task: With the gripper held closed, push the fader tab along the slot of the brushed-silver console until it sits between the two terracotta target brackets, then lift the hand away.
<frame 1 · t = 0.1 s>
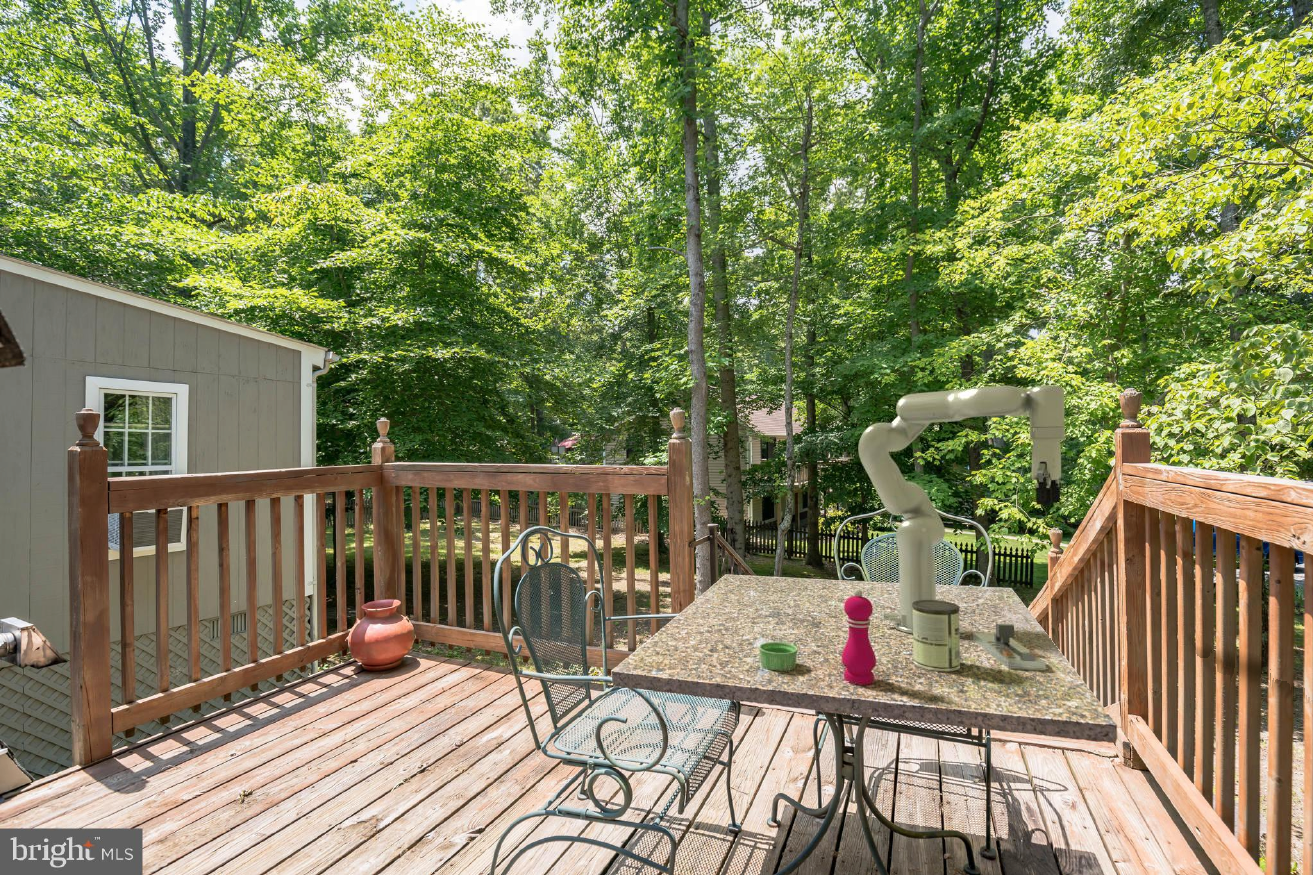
hand: (1048, 503, 163), 37 cm above the table, tool pointing down, fingers open, 9 cm apart
console: (1006, 654, 161), on the table
ramekin: (778, 666, 153), on the table
fader tab: (1005, 633, 163), point 5 cm above the table, slide at 1.0 cm
pepper mill: (859, 681, 143), on the table
coffee can: (936, 665, 153), on the table
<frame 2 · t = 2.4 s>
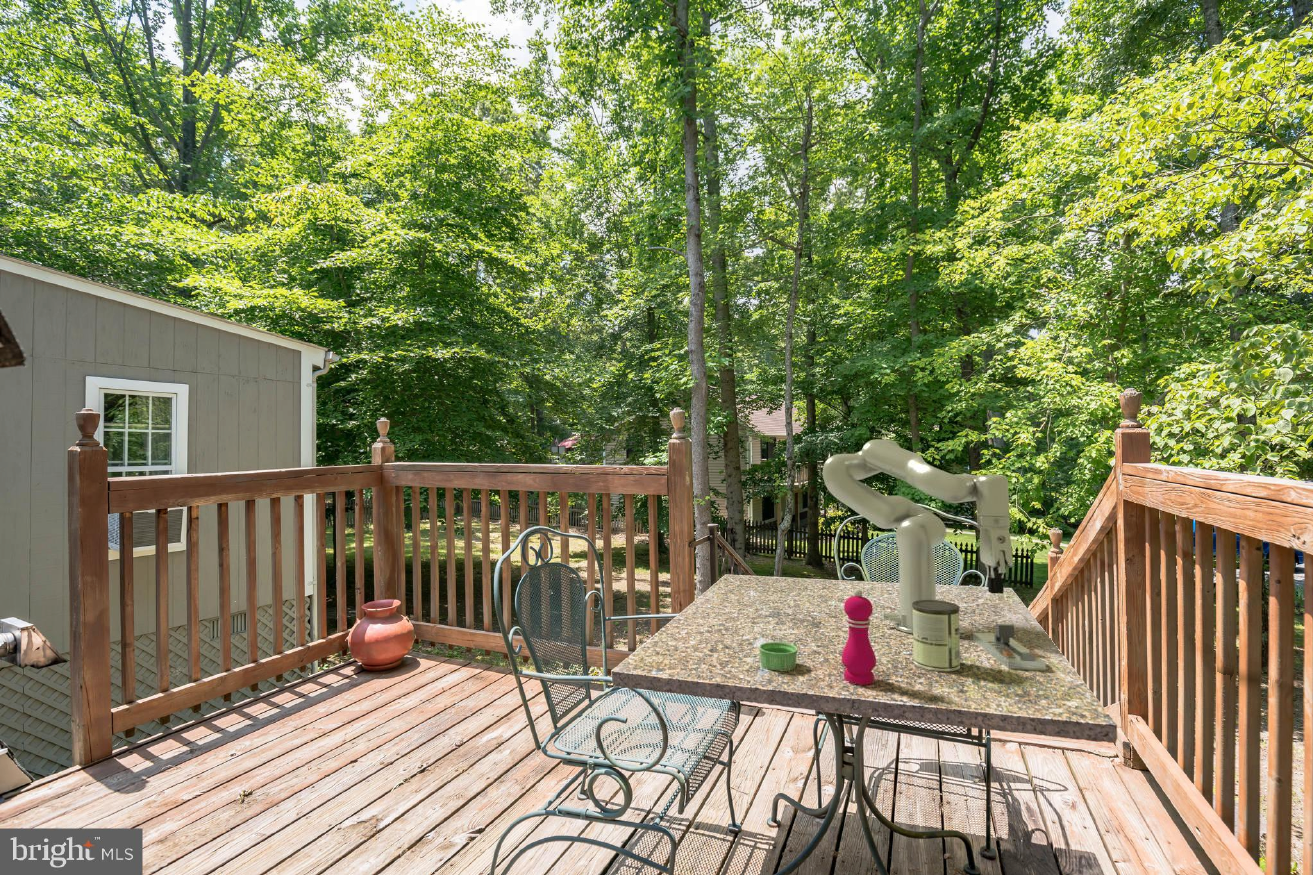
hand: (995, 592, 169), 13 cm above the table, tool pointing down, fingers closed
nothing on the table moved.
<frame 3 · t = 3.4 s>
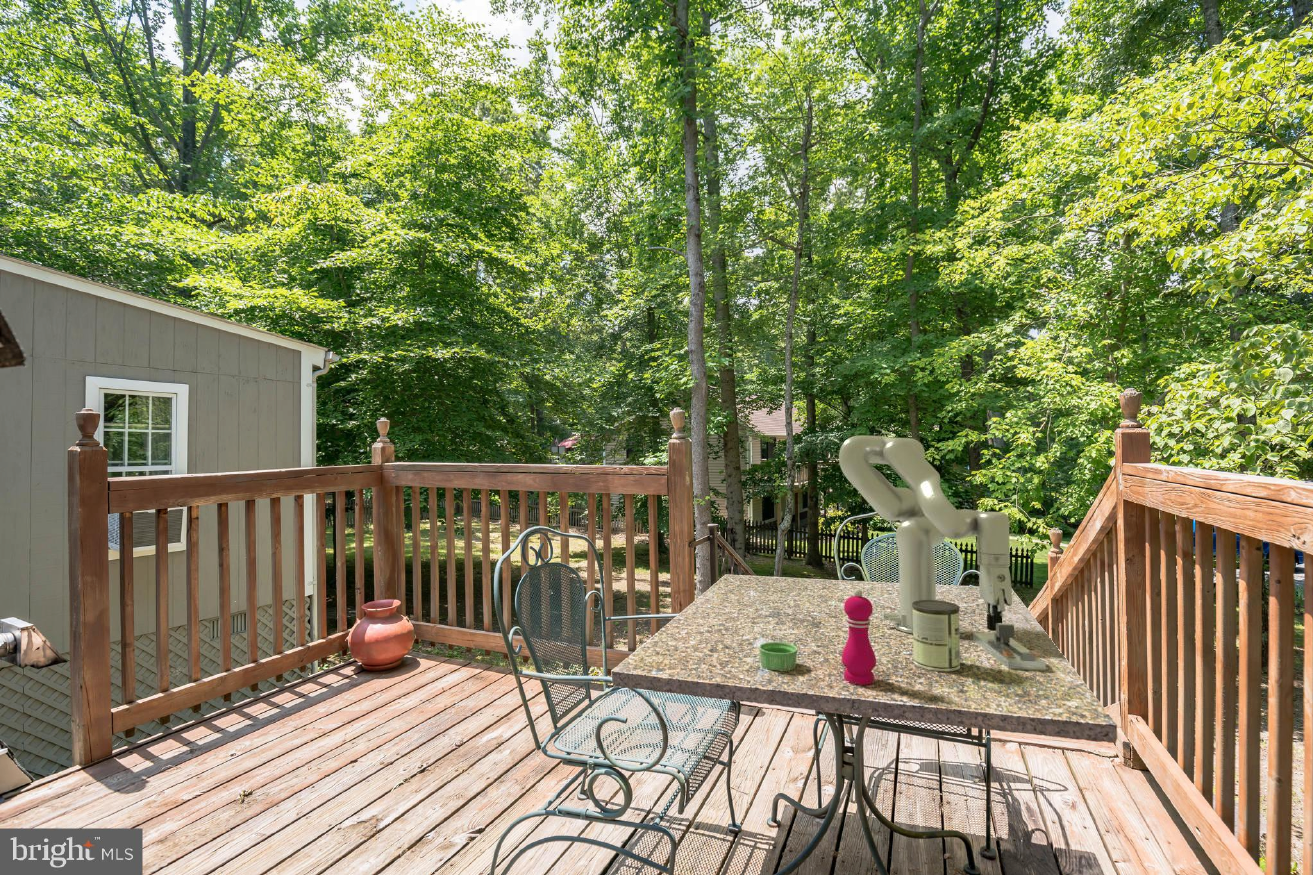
hand: (994, 629, 170), 4 cm above the table, tool pointing down, fingers closed
nothing on the table moved.
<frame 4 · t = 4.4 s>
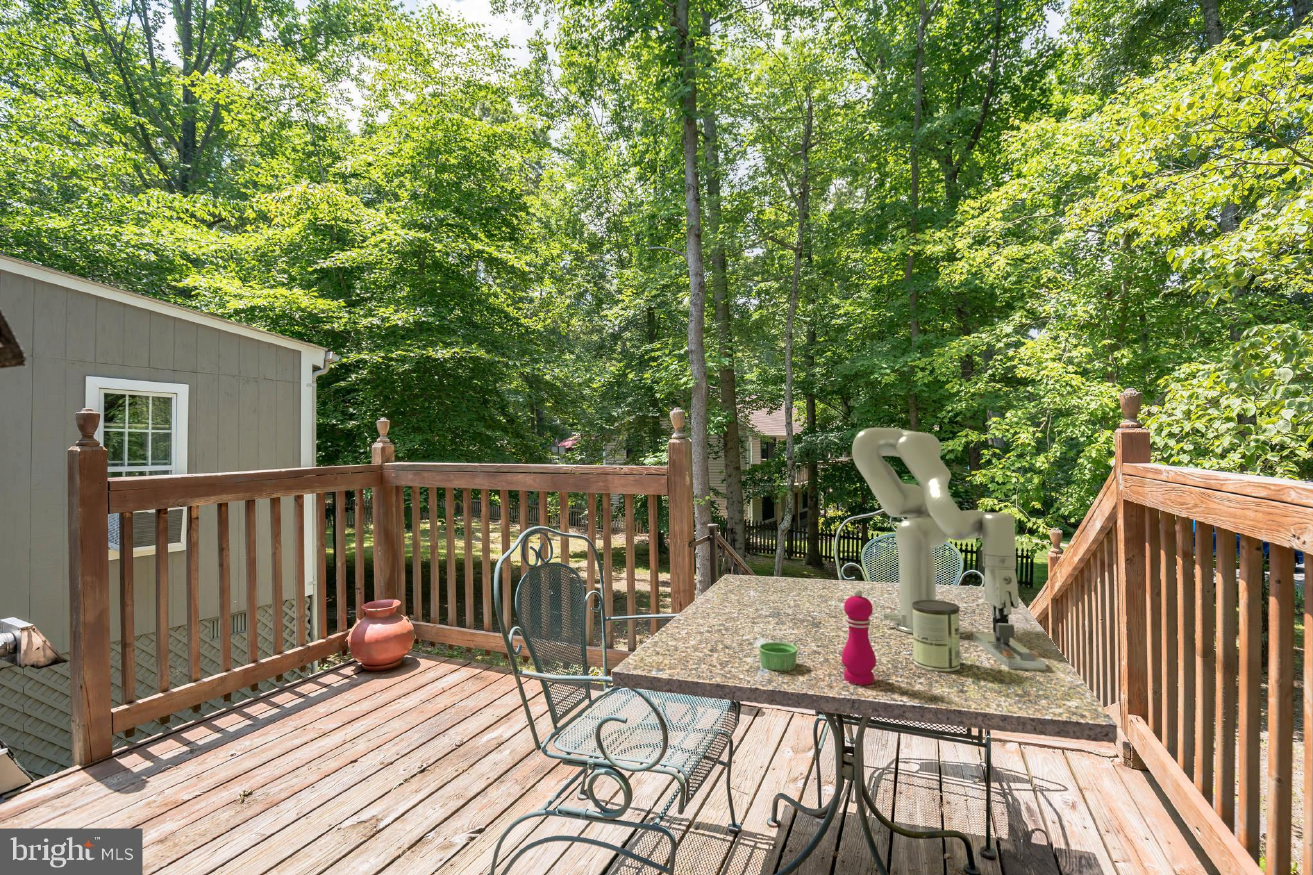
hand: (1000, 633, 166), 4 cm above the table, tool pointing down, fingers closed
fader tab: (1005, 633, 163), point 5 cm above the table, slide at 1.0 cm, touching gripper
everything else where it was.
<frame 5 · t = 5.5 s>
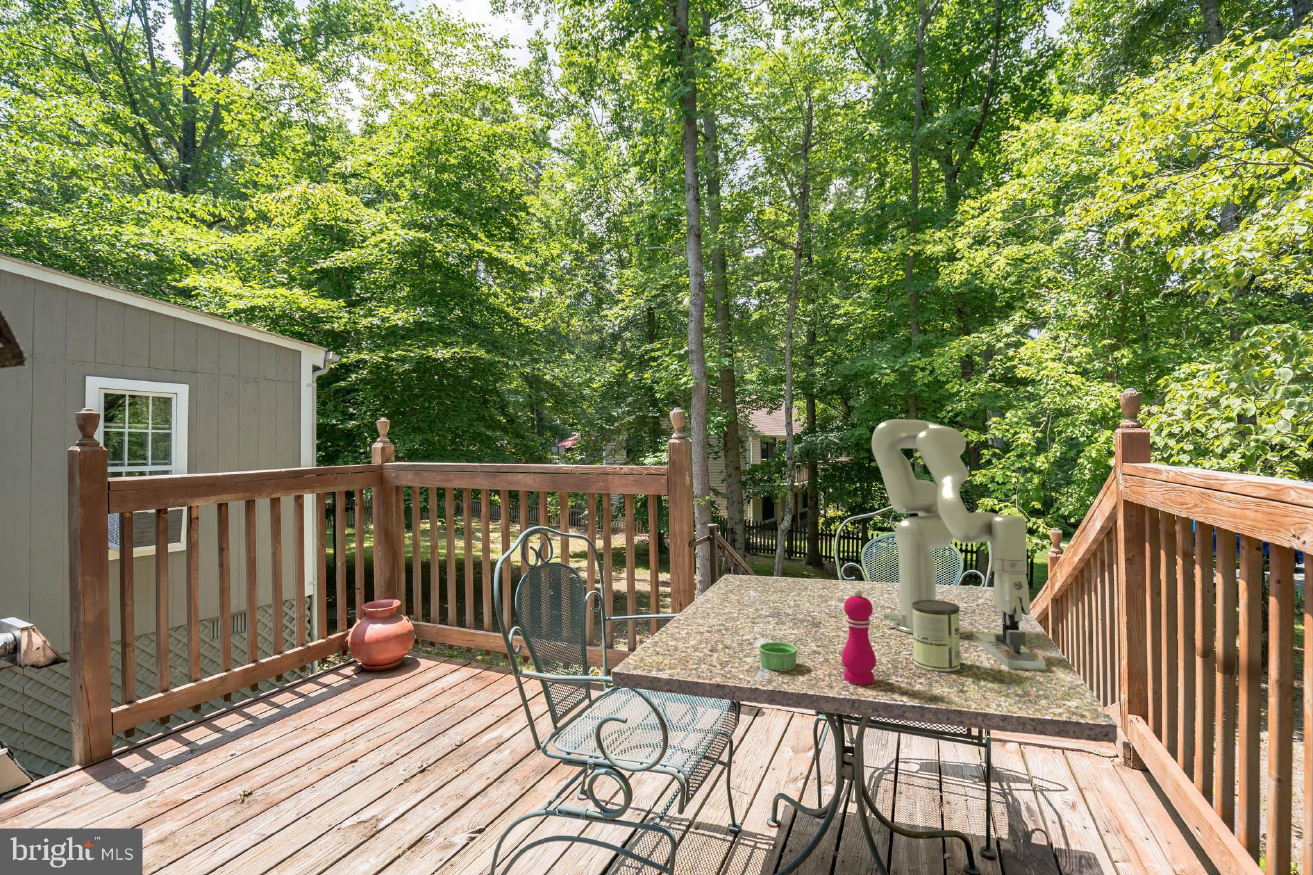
hand: (1010, 640, 160), 4 cm above the table, tool pointing down, fingers closed
fader tab: (1015, 640, 156), point 5 cm above the table, slide at 7.4 cm, touching gripper
everything else where it was.
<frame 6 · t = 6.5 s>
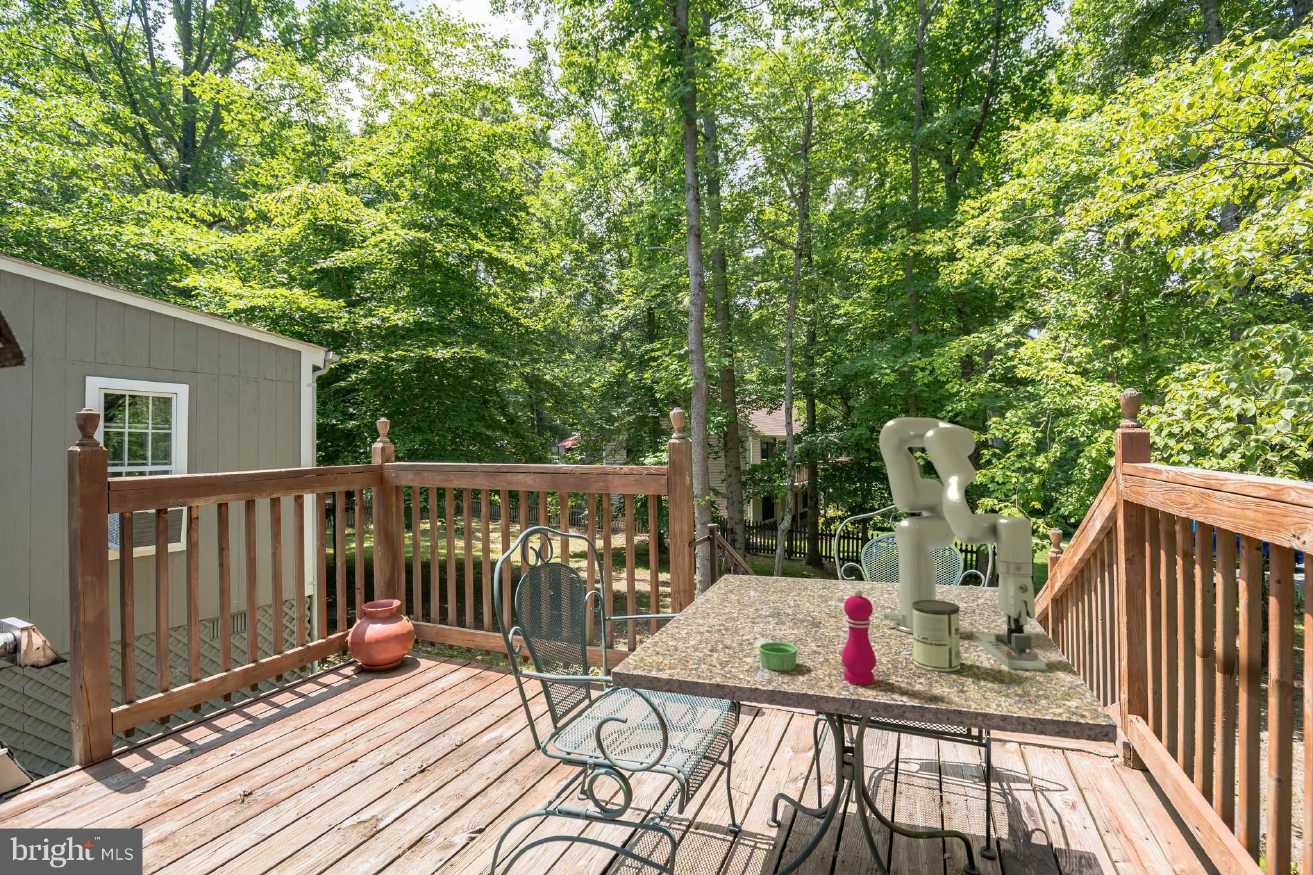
hand: (1015, 644, 157), 4 cm above the table, tool pointing down, fingers closed
fader tab: (1021, 644, 153), point 5 cm above the table, slide at 10.4 cm, touching gripper
everything else where it was.
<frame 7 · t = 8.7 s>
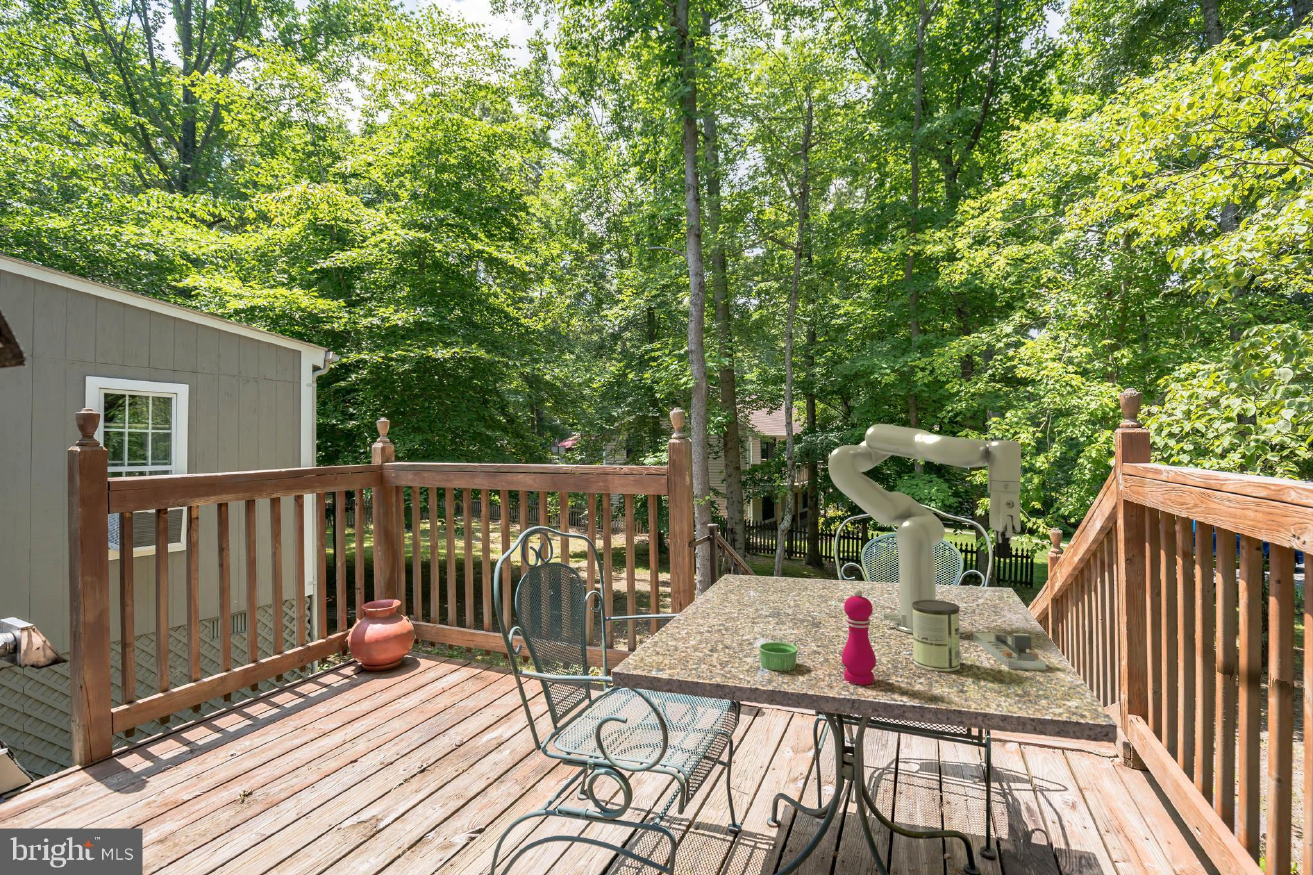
hand: (1002, 557, 169), 22 cm above the table, tool pointing down, fingers closed
fader tab: (1021, 644, 153), point 5 cm above the table, slide at 10.4 cm
everything else where it was.
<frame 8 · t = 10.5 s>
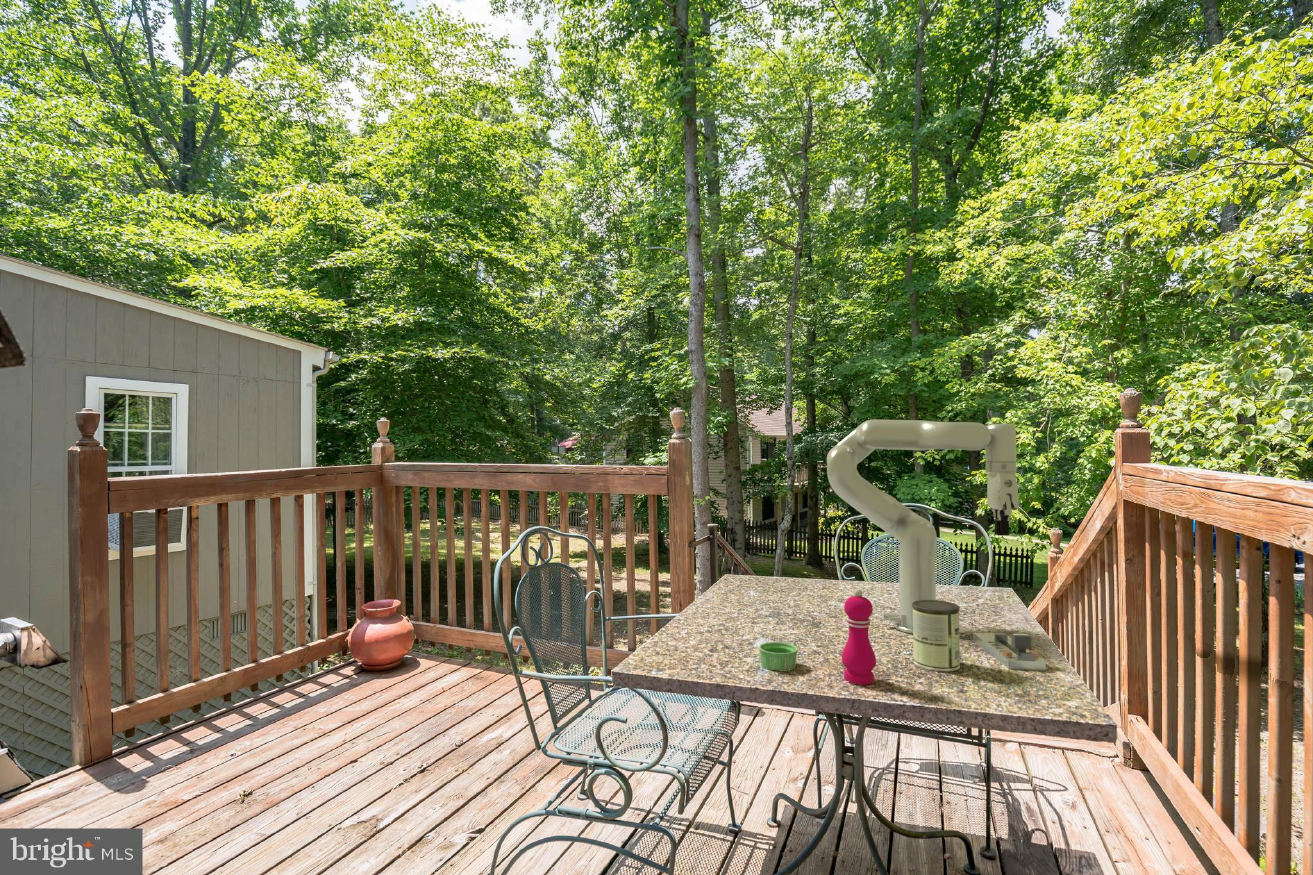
hand: (1001, 534, 179), 27 cm above the table, tool pointing down, fingers closed
nothing on the table moved.
at the end: fader tab slide at 10.4 cm; the gripper is holding nothing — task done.
